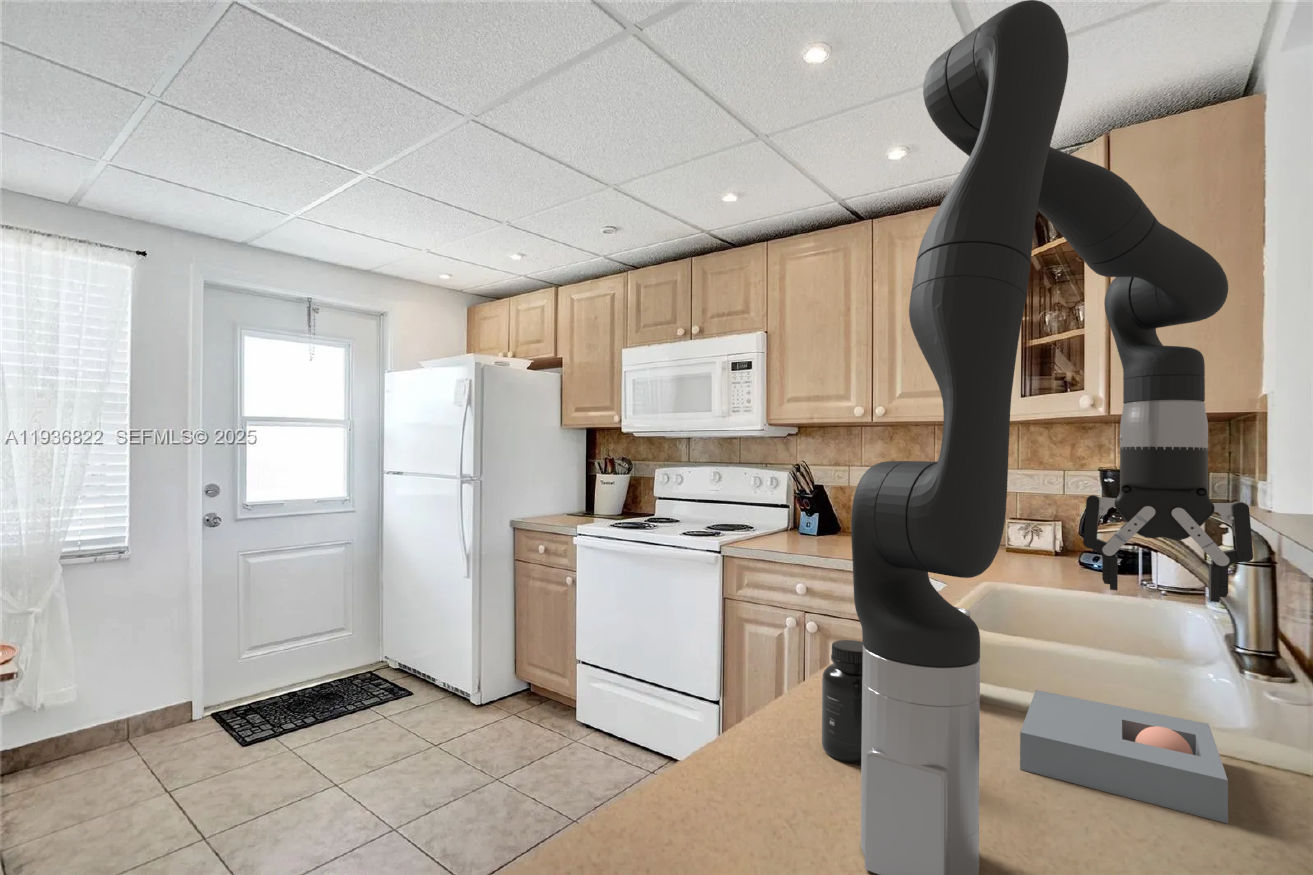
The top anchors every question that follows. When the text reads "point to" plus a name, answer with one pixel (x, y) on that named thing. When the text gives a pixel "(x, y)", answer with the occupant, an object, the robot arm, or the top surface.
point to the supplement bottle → (843, 702)
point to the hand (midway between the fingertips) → (1162, 595)
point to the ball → (1163, 739)
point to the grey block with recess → (1123, 754)
